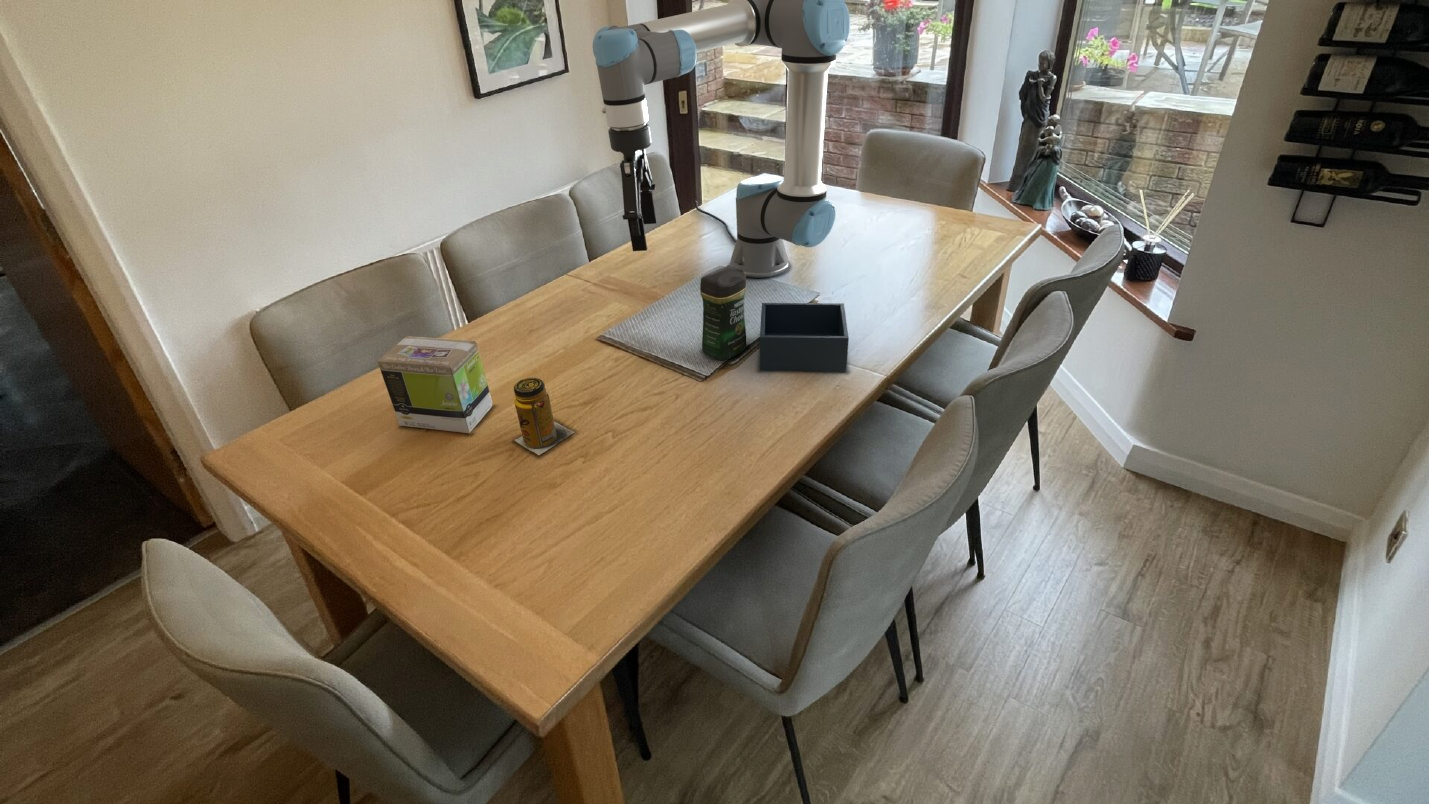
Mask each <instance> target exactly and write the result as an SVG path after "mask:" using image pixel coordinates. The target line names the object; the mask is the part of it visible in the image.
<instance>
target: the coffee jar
mask: <svg viewBox="0 0 1429 804" xmlns="http://www.w3.org/2000/svg"><path fill="white" fill-rule="evenodd" d="M699 292H700V296H701V298H702V335H701V337H702V338H701V351H702V353H703V354H705V355H706V356H707V357H708V358H710V359H713V360H719V361H727V360H729V359H732V358H734V357H736V356H738V355H739V354H741V353H742V352H743V351H745V350H746V349H747V346H748V345H747V343H748V342H747V339H748V338H747V329H746V328H747V327H746V318H745V297H746V292H747V277H746V275H745V273H744V271H743V270H742V269H740V268H737V267H734V266H731V264H727V265H726V266H723V267H719V268H717V269H715V270H713V271H710V272H708V273H706V274H705V275H703V276H702V277H701V278H700V283H699Z"/></svg>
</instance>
